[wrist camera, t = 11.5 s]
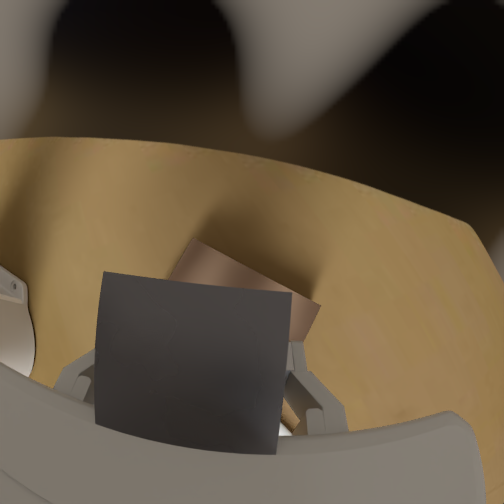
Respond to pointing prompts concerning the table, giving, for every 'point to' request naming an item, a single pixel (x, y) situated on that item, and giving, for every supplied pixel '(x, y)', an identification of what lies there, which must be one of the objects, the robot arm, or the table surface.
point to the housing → (191, 363)
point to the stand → (240, 282)
